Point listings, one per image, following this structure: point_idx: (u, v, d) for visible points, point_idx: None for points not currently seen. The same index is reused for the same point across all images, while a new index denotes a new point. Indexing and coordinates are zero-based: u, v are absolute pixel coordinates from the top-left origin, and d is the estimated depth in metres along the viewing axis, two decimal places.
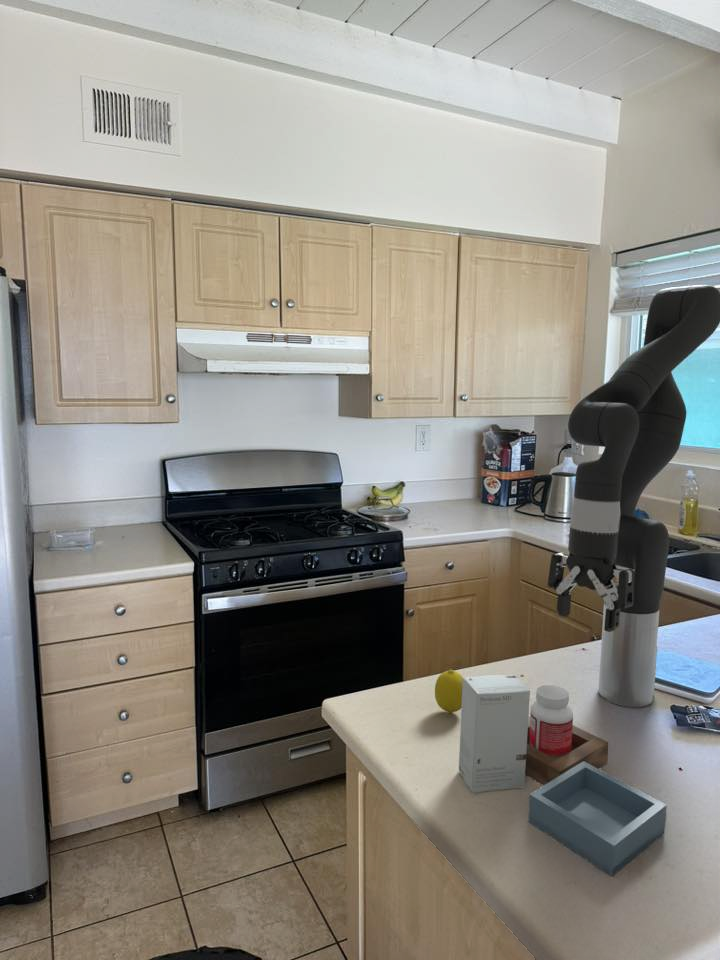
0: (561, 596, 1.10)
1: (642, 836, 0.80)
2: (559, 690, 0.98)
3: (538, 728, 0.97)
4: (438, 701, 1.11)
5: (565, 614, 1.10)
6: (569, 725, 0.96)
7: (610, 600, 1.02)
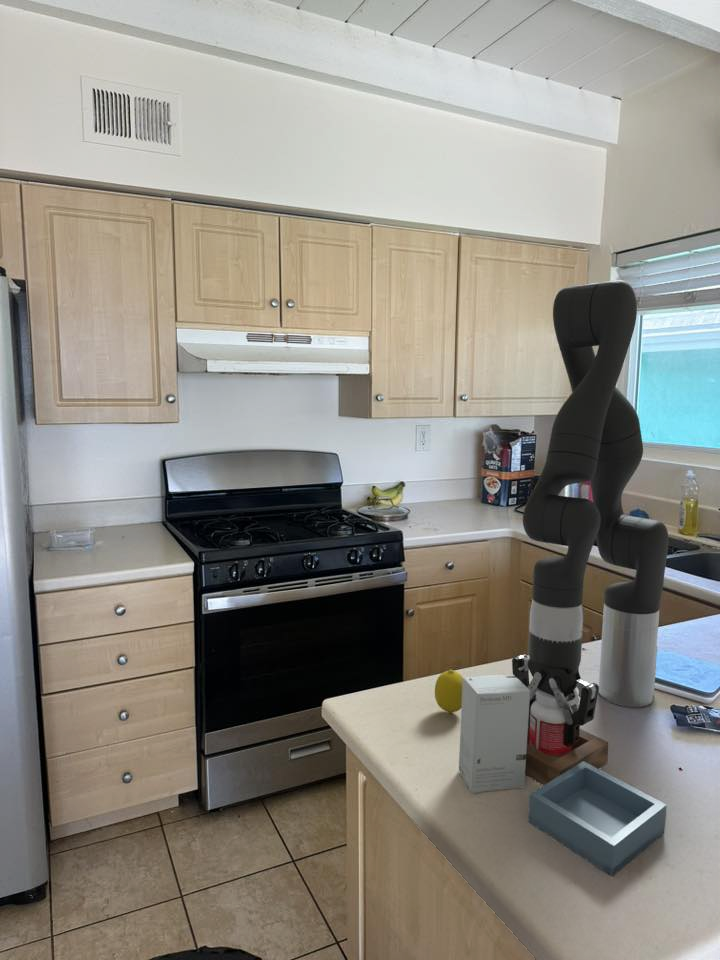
0: None
1: (642, 836, 0.80)
2: None
3: (538, 728, 0.97)
4: (438, 701, 1.11)
5: None
6: None
7: (569, 715, 0.94)
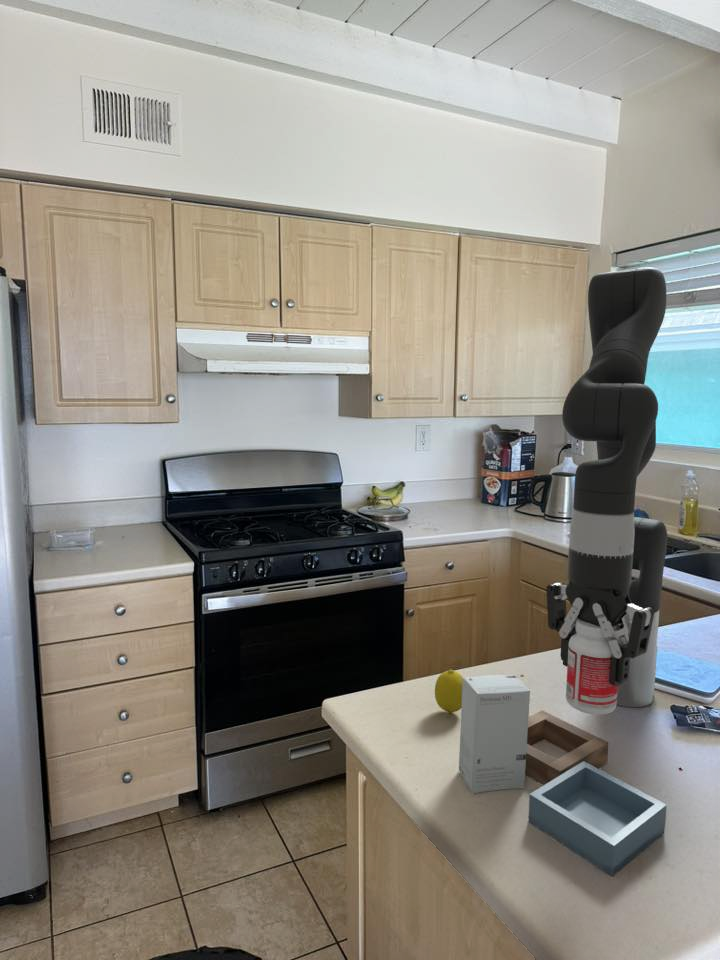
0: (565, 641, 0.85)
1: (642, 836, 0.80)
2: None
3: (578, 664, 0.81)
4: (438, 701, 1.11)
5: None
6: None
7: (617, 646, 0.78)
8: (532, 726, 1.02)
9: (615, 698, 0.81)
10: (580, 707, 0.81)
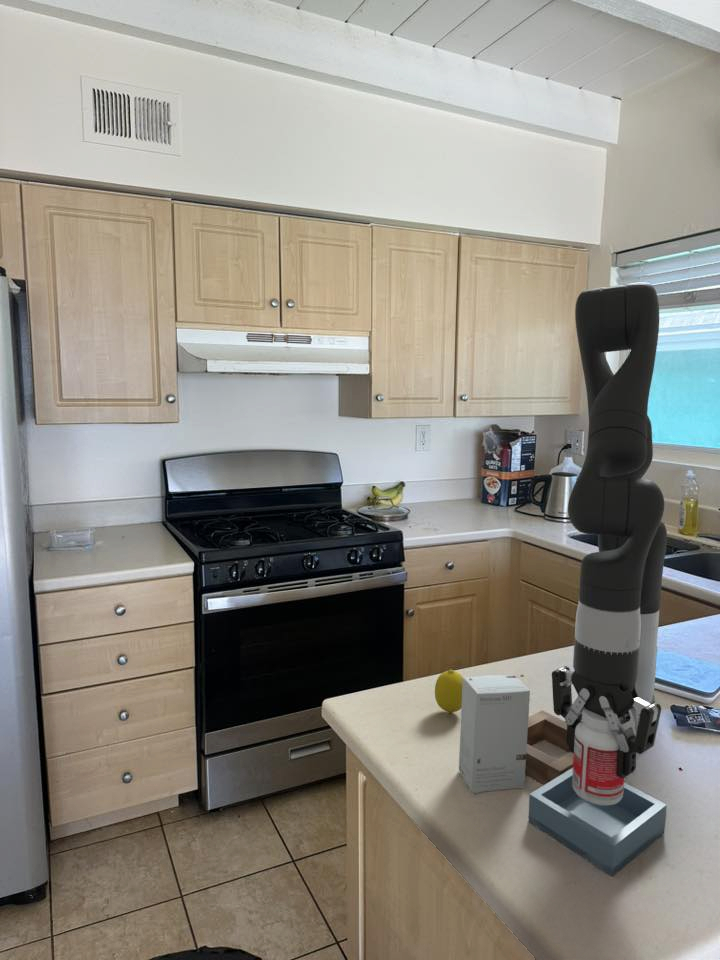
0: (571, 728, 0.84)
1: (642, 836, 0.80)
2: None
3: (585, 755, 0.81)
4: (438, 701, 1.11)
5: None
6: None
7: (624, 740, 0.78)
8: (532, 726, 1.02)
9: (622, 789, 0.81)
10: (587, 798, 0.81)
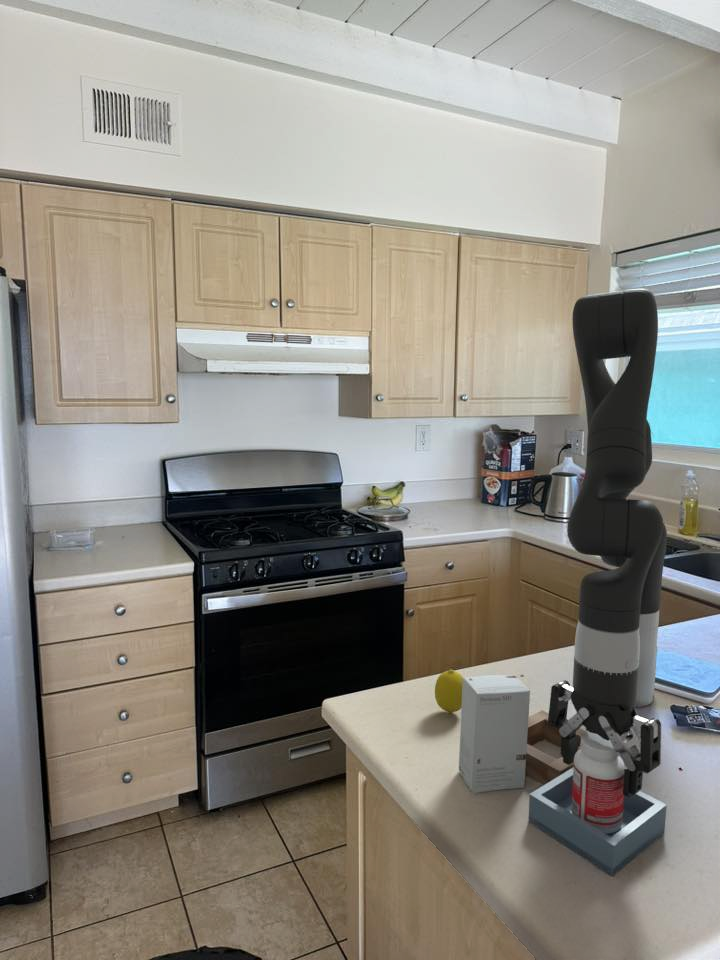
0: (565, 740, 0.85)
1: (642, 836, 0.80)
2: None
3: (584, 784, 0.81)
4: (438, 701, 1.11)
5: (571, 761, 0.86)
6: (621, 781, 0.81)
7: (630, 758, 0.78)
8: (532, 726, 1.02)
9: (621, 817, 0.82)
10: None
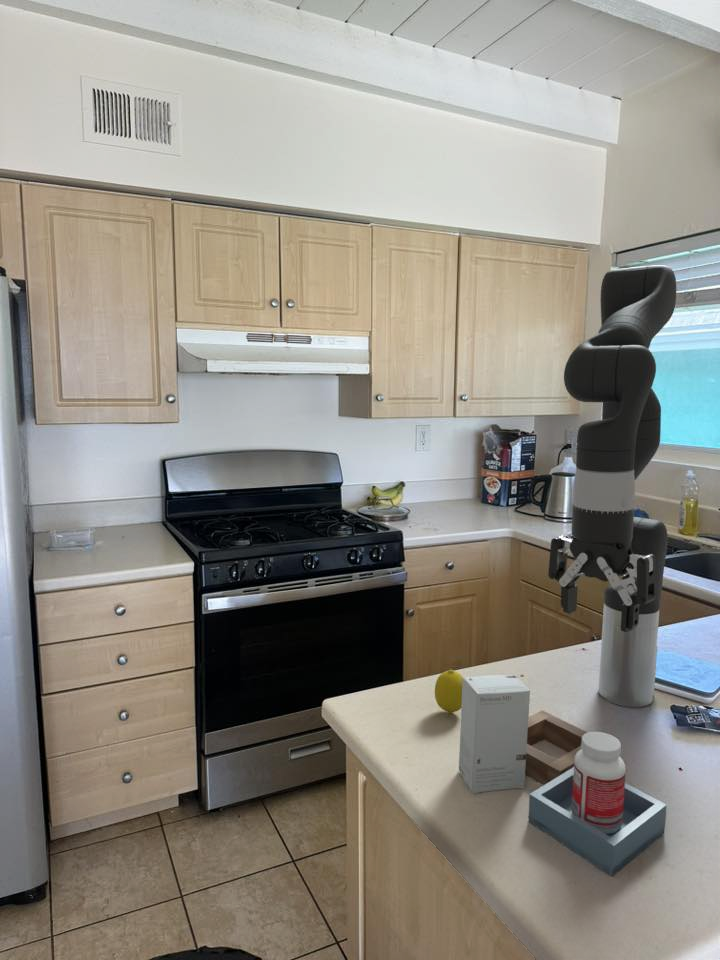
0: (565, 589, 0.89)
1: (642, 836, 0.80)
2: (609, 739, 0.83)
3: (584, 784, 0.81)
4: (438, 701, 1.11)
5: (571, 610, 0.90)
6: (622, 781, 0.81)
7: (627, 594, 0.82)
8: (532, 726, 1.02)
9: (621, 817, 0.82)
10: None
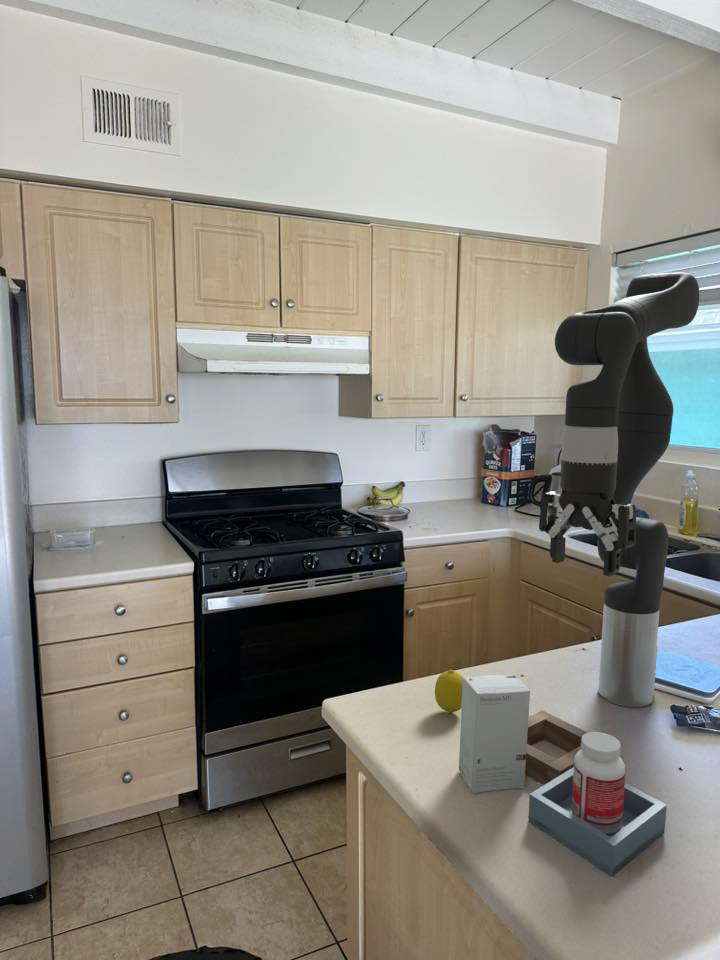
0: (554, 540, 0.97)
1: (642, 836, 0.80)
2: (608, 739, 0.83)
3: (584, 785, 0.81)
4: (438, 701, 1.11)
5: (559, 560, 0.98)
6: (622, 782, 0.81)
7: (609, 540, 0.90)
8: (532, 726, 1.02)
9: (621, 817, 0.82)
10: None
